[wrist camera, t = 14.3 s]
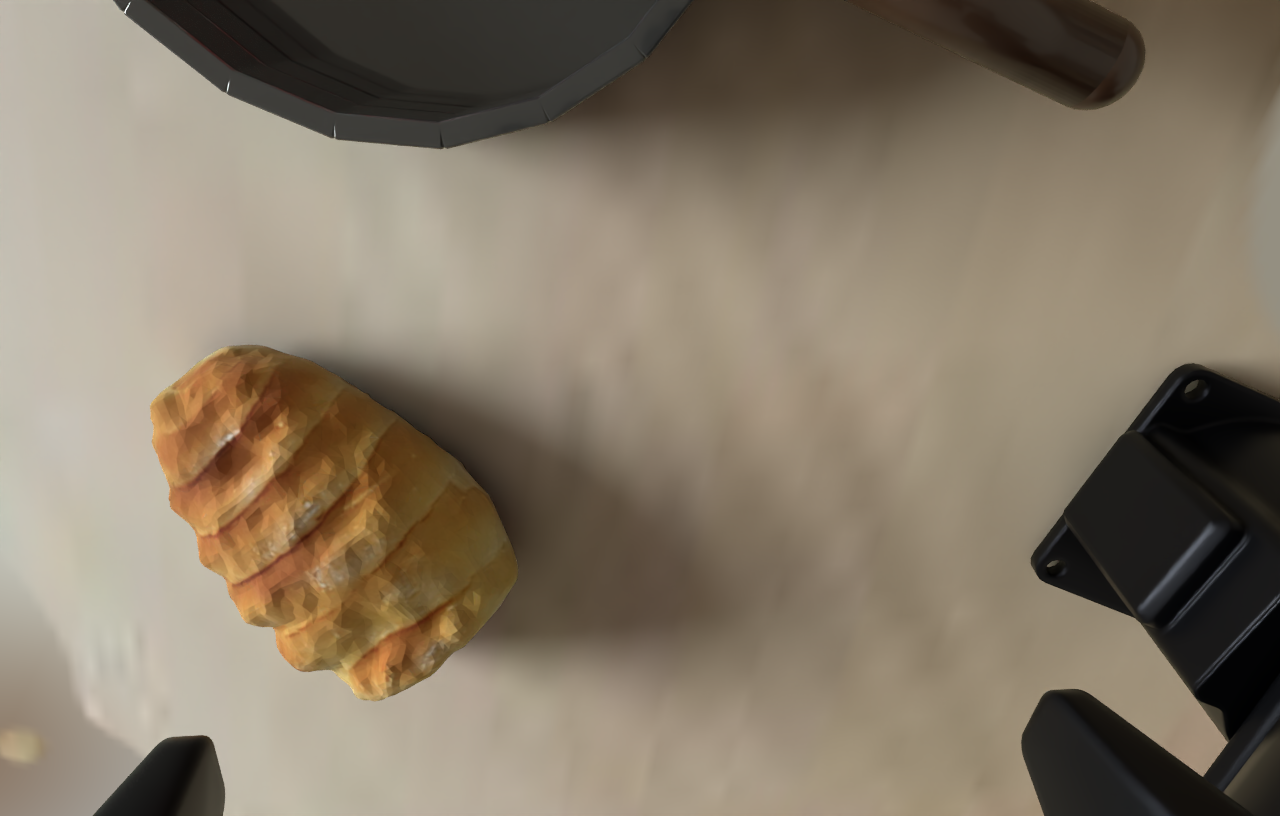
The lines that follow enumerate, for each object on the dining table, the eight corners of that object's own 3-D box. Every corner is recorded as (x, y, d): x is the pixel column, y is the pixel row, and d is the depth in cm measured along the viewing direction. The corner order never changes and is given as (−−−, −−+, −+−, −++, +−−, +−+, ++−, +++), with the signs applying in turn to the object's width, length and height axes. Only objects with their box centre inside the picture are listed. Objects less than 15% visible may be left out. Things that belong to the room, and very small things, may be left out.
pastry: (127, 427, 22) (25, 504, 19) (300, 273, 20) (221, 328, 17) (384, 654, 25) (337, 758, 21) (557, 539, 23) (536, 633, 19)
